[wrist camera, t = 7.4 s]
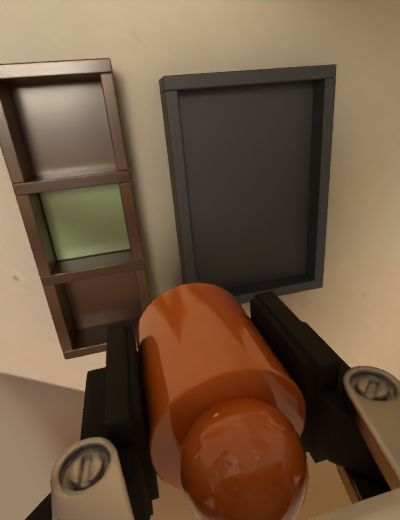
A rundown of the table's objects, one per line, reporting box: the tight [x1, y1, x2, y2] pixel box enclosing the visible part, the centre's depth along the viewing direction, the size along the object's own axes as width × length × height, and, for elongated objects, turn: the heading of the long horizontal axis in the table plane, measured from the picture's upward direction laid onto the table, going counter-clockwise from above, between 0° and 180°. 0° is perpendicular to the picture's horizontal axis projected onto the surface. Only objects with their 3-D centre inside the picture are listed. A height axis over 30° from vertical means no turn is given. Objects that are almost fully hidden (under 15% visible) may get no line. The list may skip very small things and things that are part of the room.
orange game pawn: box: [136, 283, 309, 520], centre depth 9 cm, size 4×4×7 cm
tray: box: [159, 64, 336, 304], centre depth 25 cm, size 17×12×2 cm
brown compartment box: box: [0, 58, 151, 359], centre depth 22 cm, size 18×7×3 cm, turn 4°
